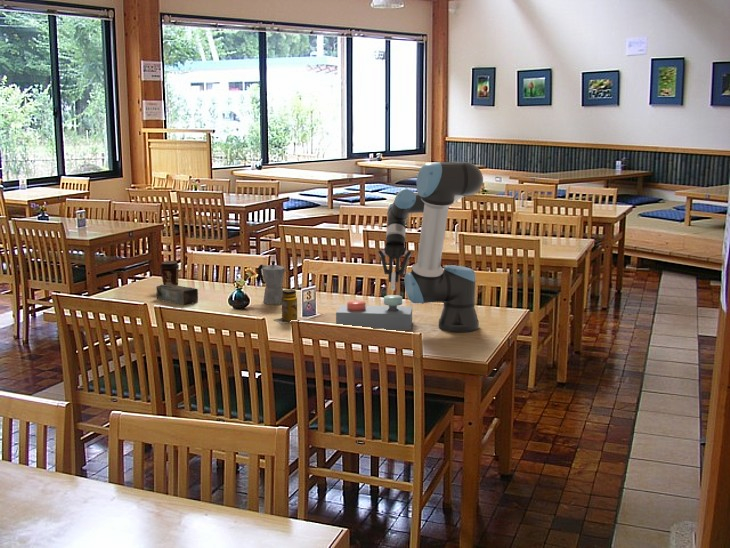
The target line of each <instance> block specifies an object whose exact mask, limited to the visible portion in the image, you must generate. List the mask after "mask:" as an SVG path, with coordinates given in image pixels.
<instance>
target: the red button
mask: <svg viewBox="0 0 730 548" xmlns="http://www.w3.org/2000/svg"><path fill="white" fill-rule="evenodd" d="M346 305H347V310H349V311H363V310H365V309H366V306H367V305H366V302H365V301H363V300H349V301H347V302H346Z"/></svg>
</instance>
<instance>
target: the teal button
mask: <svg viewBox="0 0 730 548" xmlns="http://www.w3.org/2000/svg"><path fill="white" fill-rule="evenodd" d="M383 304H384V306H389V311H397V306H401V305H403V296H401V295H397V294H389V295H385V296H384V297H383Z"/></svg>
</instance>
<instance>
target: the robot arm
mask: <svg viewBox="0 0 730 548" xmlns="http://www.w3.org/2000/svg"><path fill="white" fill-rule="evenodd" d="M415 183H416V192H417V193H415V192H414V191H413V190H411V189H408V188H402V189H400V190H399V191H398V193H397V194H396V196H395V197H394V201H393V203H391V204H390V205H389V206H388V207H387V212H386V215H387V219H386V220H387V221H386V236H385V239H386V240H385V247H384V248H383V250H378V256H379V258H380V260H381V264H382V268H383V273H384V275H388V276H387V277H388V278H387V279H388V283H390V290H391V291H396V283H398V282H399V279H400V278H399V277H400V276H401V275H404V274H405V271H406V267H407V265H408V262H409V259H410V258H411V257H412V252H411V250H407V248H406V230H407V229H406V228H407V226H406V225H407V220H408V217H409V216H410V214H421V213H422V218H421V219H422V220H421V228H420V234H419V235H420V236H419V242H418V250H417V259H416V262H415V263H413V265H412V266H411V271H408V272H406V274H405V275H404V279H403V280H404V281H403V282H404V288H405V291H406V292H405V293H406V296H407V297H408V300H409V301H410V302H411V303H412V304H422V305H423V304H430V303H441V302H442V303H443V307H442V311H441V313H440V318H439V319H438V328H439V329H441V330H443V331H446V332H447V331H448V332H453V333H454V332H455V333H469V332H474V331H477V330H478V329H479V327H480V324H479V323H480V322H479V319H478V318H479V317H478V314H477V311H476V308H475V303H476V301H475V300H476V283H477V282H476V272H475V271H474V270H473V269H472V268H469V267H466V266H463V265H454V264H453V265H451V264H450V265H449V264H448V265H444V267H442V266H441V262H442V255H443V248H444V243H445V242H444V240H445V236H446V235H445V234H446V228H447V223H448V222H447V221H448V214H449V207H450V206H452V205H453V204H454V202H456V201H459V200H460V199H462V198H464V197H466V198H467V197H471V196H473V195H475V194H477V193H478V192H479V191H480V190H481V189H482V187H483V184H484V177H483V173H482V171H481V169H480V168H479V167H478V166H476V165H475V164H473V163H471V162H468V161H446V162H445V161H443V162H441V161H440V162H439V161H434V162H426V163H424V164H423V165H422V166H421V167H420V169H419V171H418V173H417V176H416V182H415ZM385 256H387V258H389V263H388V264H389V265H388V267H387V263H386V262H387V261H386V257H385ZM403 256H404V258H403V261H402V264H401V267H400V261H401V260H400V259H401V258H402V257H403ZM394 260H395V272H394V271H393V267H394V264H393V263H394Z"/></svg>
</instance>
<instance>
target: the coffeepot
mask: <svg viewBox="0 0 730 548" xmlns="http://www.w3.org/2000/svg"><path fill="white" fill-rule="evenodd" d="M270 262H271V264H270V265H267V264H260V265H259V266H258V267H257V272H258V275H259V279H260V282H261V283H262V284H265V289H264V294H263V303H264V304H265V305H274V306H275V305H276V306H277V305H282V297H283V296H282V294H283V290H284V289H283V285H282V284H283V281H284V274H285V272H286V269H285V267H284V266H282V265H277V264H276V261H275V260H271V261H270Z"/></svg>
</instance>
